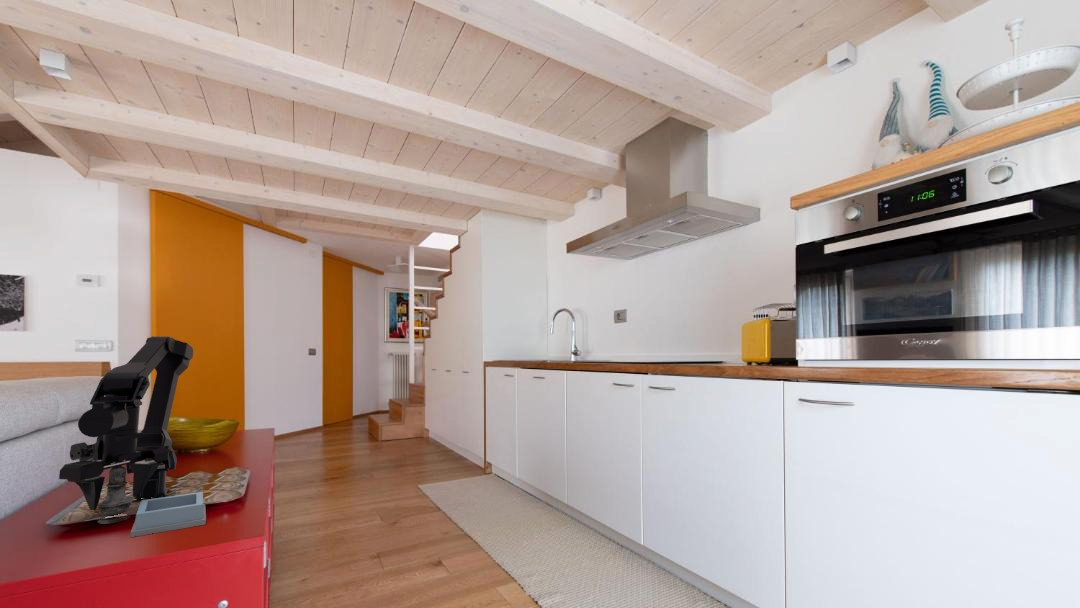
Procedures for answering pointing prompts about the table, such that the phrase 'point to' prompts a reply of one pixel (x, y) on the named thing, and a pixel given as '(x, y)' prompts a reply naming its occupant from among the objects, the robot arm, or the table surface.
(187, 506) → the holder
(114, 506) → the grey stone tall figure
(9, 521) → the table surface
